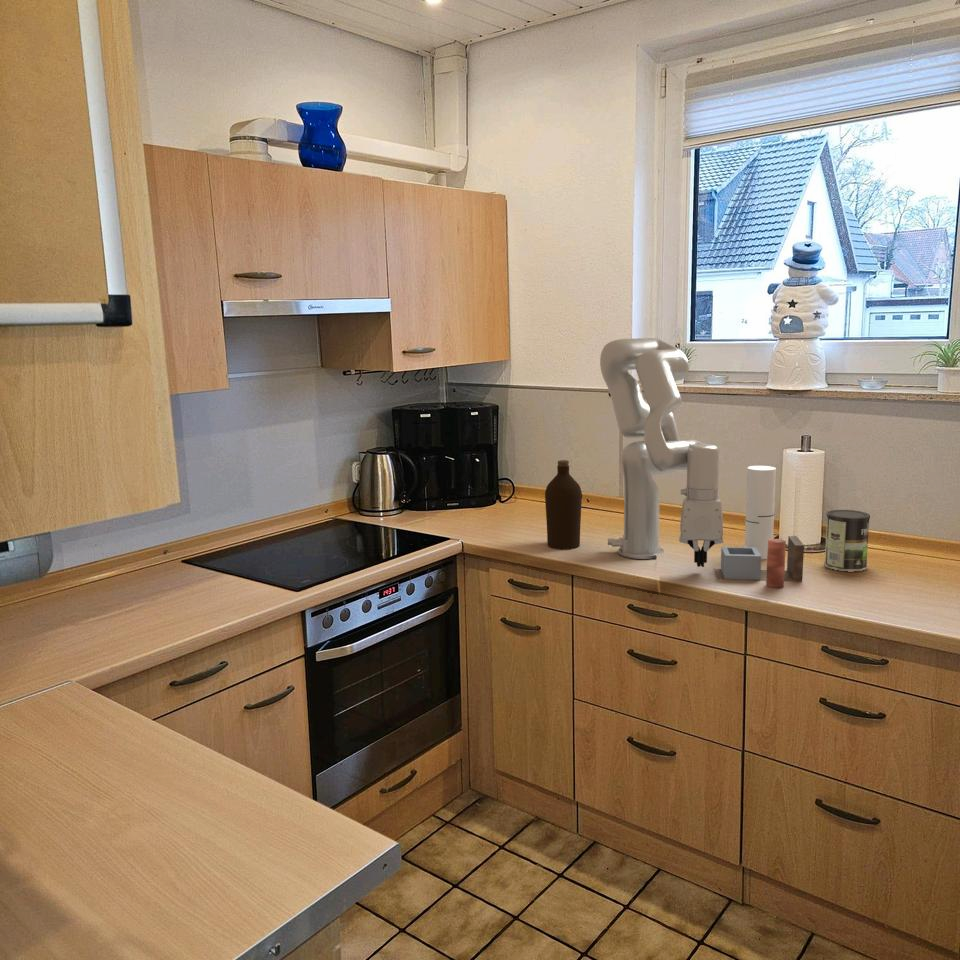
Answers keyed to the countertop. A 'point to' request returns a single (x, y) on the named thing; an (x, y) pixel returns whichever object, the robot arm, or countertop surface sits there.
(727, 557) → the socket block
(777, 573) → the dowel
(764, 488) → the cylindrical container
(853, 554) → the coffee can
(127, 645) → the countertop surface
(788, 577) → the rail
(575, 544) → the olive oil
